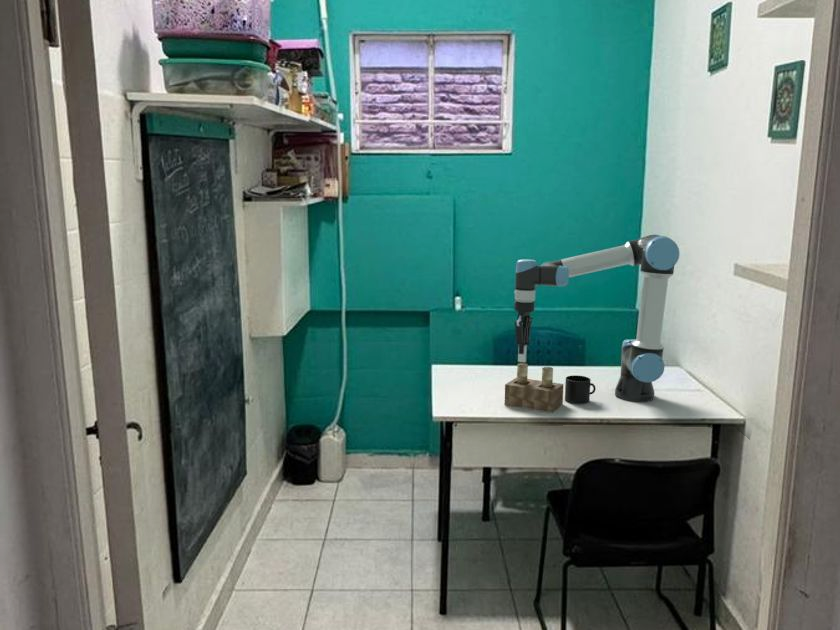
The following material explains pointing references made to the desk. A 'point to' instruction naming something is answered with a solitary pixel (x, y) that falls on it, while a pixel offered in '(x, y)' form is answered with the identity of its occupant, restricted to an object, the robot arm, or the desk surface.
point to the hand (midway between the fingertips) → (521, 361)
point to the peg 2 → (547, 377)
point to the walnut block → (534, 395)
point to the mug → (578, 389)
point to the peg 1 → (522, 374)
